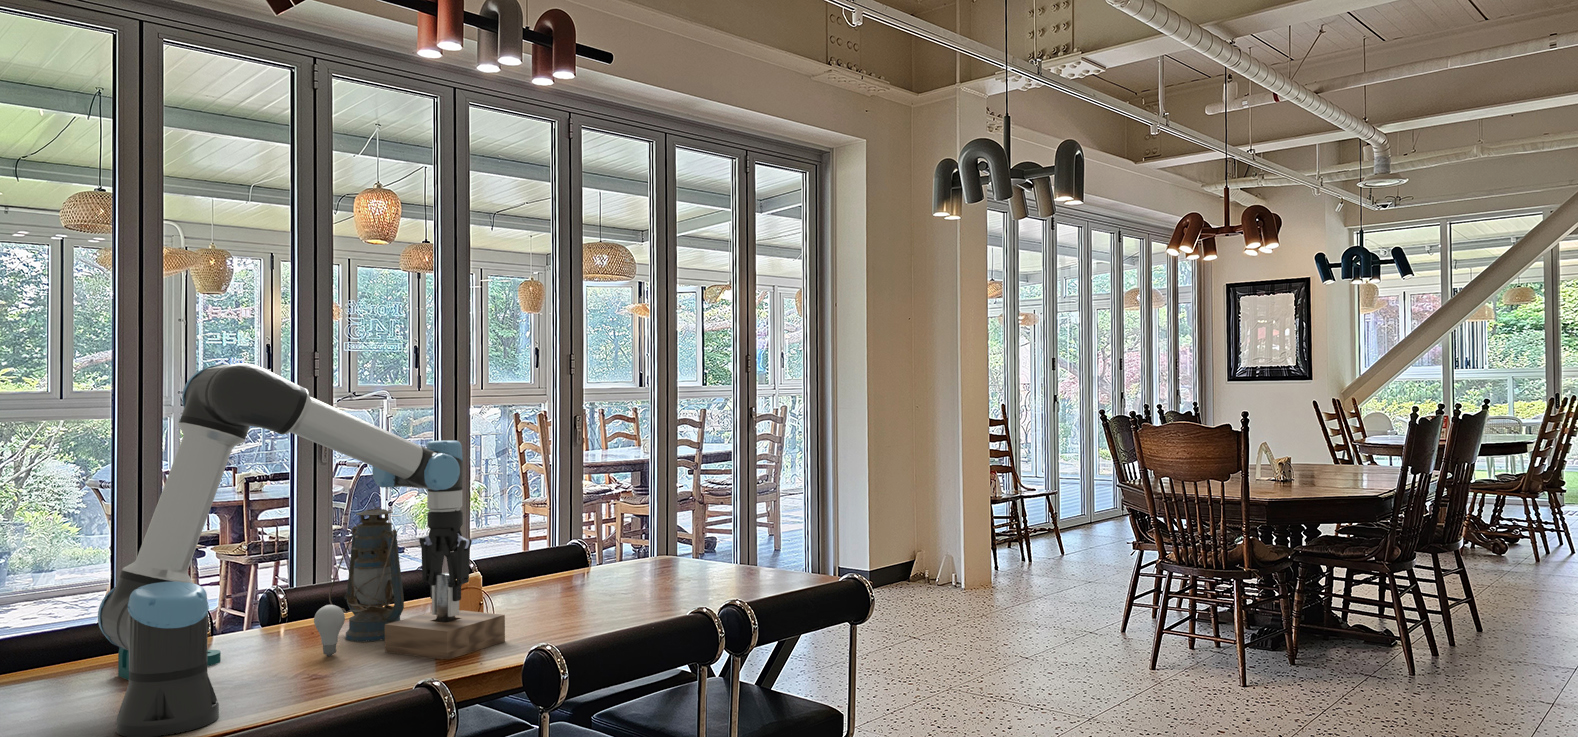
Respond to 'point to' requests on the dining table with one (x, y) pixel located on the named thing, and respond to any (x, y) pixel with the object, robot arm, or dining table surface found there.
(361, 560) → the lantern
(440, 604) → the pin
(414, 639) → the walnut block
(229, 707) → the dining table surface
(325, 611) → the lightbulb
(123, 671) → the bracket
